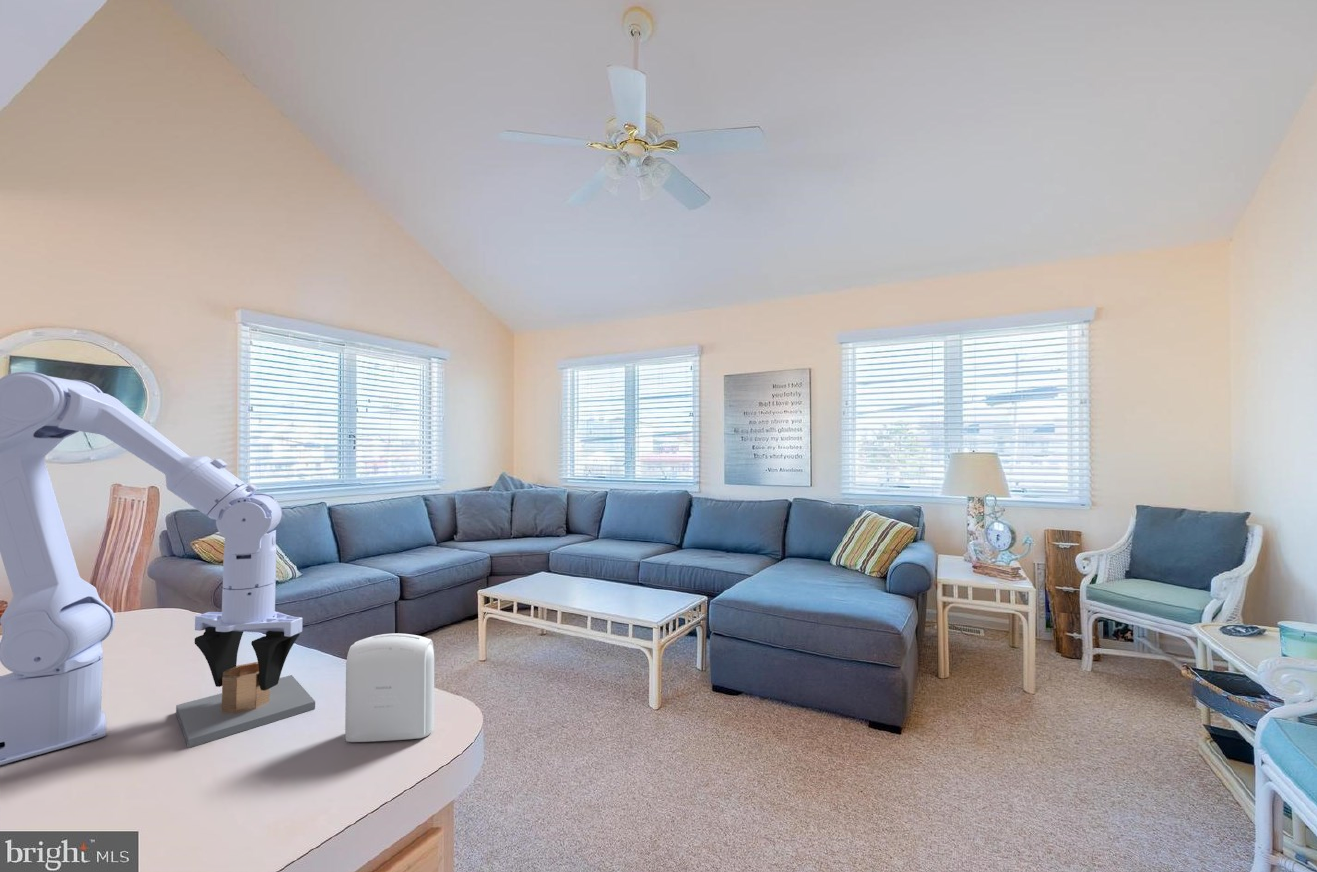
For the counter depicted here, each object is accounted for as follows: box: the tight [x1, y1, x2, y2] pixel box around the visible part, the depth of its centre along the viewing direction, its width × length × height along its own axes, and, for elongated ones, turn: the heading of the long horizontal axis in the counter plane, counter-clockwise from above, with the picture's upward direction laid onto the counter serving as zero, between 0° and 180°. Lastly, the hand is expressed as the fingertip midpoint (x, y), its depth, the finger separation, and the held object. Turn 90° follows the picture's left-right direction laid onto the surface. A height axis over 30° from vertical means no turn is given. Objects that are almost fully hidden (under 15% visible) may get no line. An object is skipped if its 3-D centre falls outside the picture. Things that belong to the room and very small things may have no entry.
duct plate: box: [175, 674, 316, 749], centre depth 71 cm, size 13×12×4 cm
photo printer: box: [344, 632, 435, 743], centre depth 66 cm, size 10×4×12 cm, turn 96°
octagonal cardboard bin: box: [221, 661, 269, 713], centre depth 71 cm, size 5×5×4 cm
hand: (247, 685), depth 71 cm, fingers open, 6 cm apart
